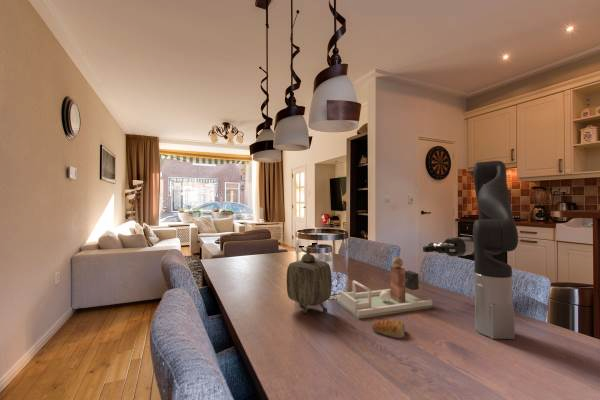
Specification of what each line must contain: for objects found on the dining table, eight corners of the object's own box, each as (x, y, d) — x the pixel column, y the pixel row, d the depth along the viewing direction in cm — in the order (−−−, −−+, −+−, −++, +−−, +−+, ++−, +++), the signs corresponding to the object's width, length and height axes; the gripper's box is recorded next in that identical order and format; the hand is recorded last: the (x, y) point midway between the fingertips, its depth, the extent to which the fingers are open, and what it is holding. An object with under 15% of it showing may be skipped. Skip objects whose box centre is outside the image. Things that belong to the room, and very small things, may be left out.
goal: (355, 299, 112) (354, 279, 112) (372, 310, 100) (372, 289, 100) (339, 301, 110) (339, 281, 110) (355, 313, 98) (354, 291, 98)
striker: (410, 294, 115) (409, 254, 115) (418, 299, 110) (418, 257, 110) (389, 297, 112) (388, 256, 112) (397, 301, 107) (396, 259, 107)
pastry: (370, 334, 85) (370, 321, 85) (373, 325, 91) (373, 313, 91) (404, 340, 81) (404, 326, 81) (405, 330, 88) (405, 317, 88)
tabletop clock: (332, 312, 102) (331, 241, 102) (317, 320, 95) (316, 244, 95) (300, 303, 111) (299, 238, 111) (284, 310, 104) (283, 241, 104)
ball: (392, 303, 107) (392, 292, 107) (381, 303, 107) (381, 292, 107) (389, 299, 111) (389, 289, 111) (378, 299, 111) (378, 289, 111)
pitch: (402, 293, 121) (402, 287, 121) (432, 307, 105) (432, 300, 105) (337, 301, 112) (337, 295, 112) (358, 318, 96) (358, 311, 96)
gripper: (446, 235, 125) (412, 237, 120) (472, 239, 113) (436, 242, 108) (446, 252, 125) (413, 255, 120) (473, 258, 113) (436, 262, 108)
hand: (424, 249), depth 114 cm, fingers closed
